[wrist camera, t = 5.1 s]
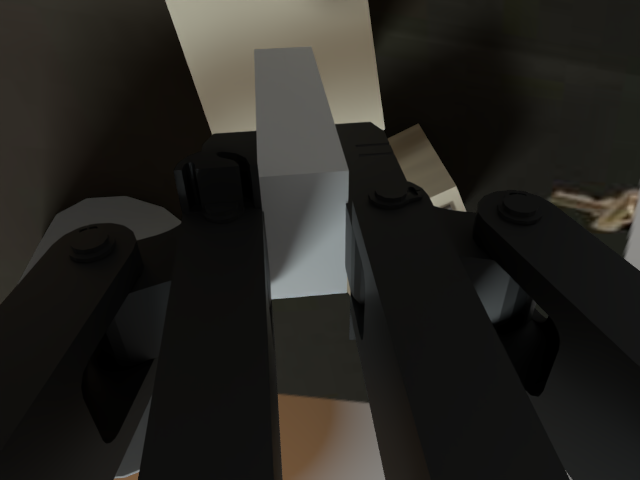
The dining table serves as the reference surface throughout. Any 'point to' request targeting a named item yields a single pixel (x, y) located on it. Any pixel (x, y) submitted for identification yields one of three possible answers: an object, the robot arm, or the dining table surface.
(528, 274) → the robot arm
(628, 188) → the dining table surface
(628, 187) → the dining table surface
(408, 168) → the striped block
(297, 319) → the dining table surface
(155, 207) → the cup
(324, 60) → the plain block
